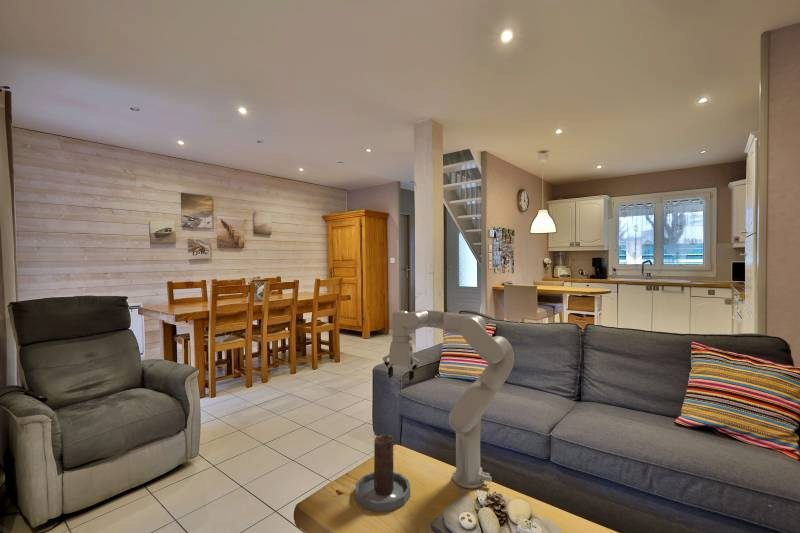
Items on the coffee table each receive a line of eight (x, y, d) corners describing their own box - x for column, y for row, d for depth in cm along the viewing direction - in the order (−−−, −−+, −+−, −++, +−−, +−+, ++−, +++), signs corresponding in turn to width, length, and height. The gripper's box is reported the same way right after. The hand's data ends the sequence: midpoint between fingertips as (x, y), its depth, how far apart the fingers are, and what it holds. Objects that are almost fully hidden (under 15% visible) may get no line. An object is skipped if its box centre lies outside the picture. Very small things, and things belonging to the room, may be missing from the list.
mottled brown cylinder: (391, 498, 131) (390, 442, 131) (371, 496, 132) (371, 441, 132) (395, 486, 138) (395, 433, 138) (377, 484, 139) (376, 431, 140)
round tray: (417, 485, 140) (417, 477, 140) (395, 517, 122) (395, 508, 122) (372, 474, 148) (372, 466, 148) (345, 502, 130) (345, 494, 130)
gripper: (422, 339, 159) (422, 378, 158) (386, 336, 166) (386, 373, 165) (416, 342, 152) (416, 383, 151) (379, 339, 159) (379, 378, 158)
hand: (400, 378), depth 158 cm, fingers open, 9 cm apart
